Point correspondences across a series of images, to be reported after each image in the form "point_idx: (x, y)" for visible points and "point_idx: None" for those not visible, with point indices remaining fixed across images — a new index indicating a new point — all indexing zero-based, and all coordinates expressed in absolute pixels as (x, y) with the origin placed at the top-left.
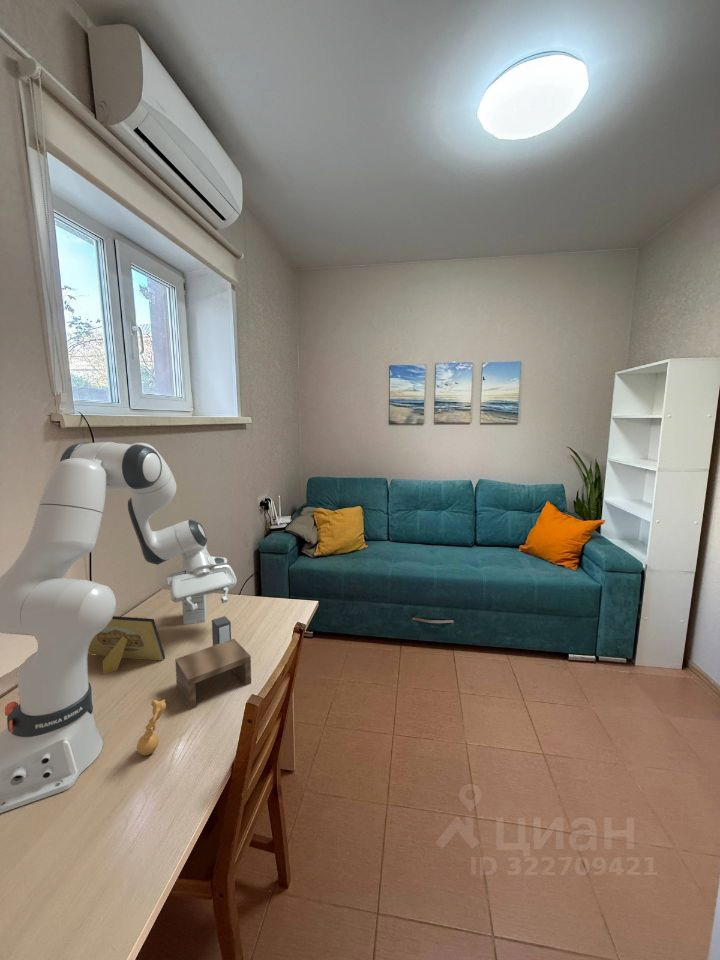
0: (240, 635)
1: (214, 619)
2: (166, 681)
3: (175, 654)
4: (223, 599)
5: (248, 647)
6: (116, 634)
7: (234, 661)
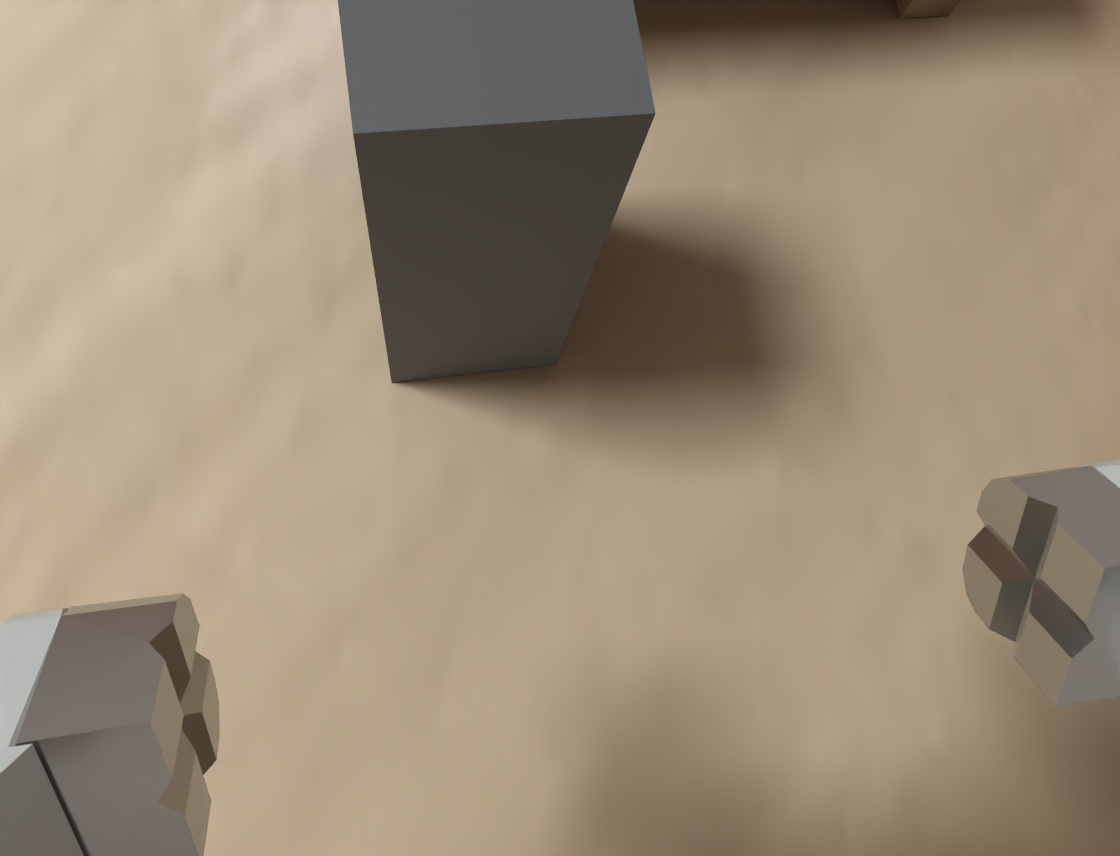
0: None
1: (599, 107)
2: (1030, 140)
3: (953, 588)
4: (156, 627)
5: (125, 273)
6: None
7: None
